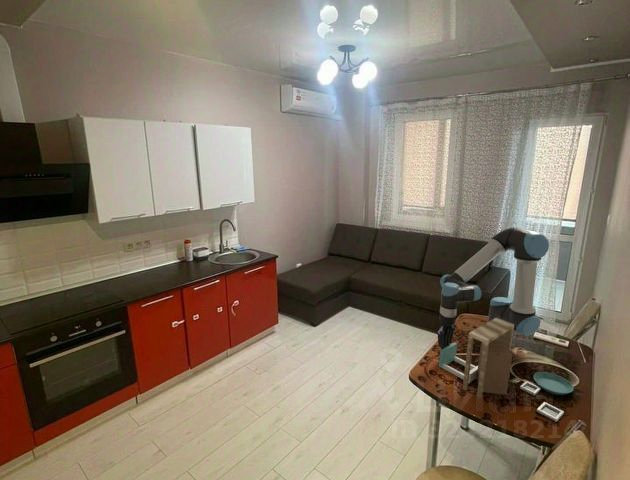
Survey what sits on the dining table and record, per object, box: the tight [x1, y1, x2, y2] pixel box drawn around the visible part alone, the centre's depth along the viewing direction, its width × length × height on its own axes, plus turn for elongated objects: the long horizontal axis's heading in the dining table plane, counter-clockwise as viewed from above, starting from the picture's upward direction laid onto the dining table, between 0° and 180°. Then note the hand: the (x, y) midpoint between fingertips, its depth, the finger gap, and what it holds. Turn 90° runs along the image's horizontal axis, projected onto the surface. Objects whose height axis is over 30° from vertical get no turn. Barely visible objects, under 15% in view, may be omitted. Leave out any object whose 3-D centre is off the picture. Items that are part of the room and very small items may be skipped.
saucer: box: [533, 371, 575, 396], centre depth 152 cm, size 15×15×3 cm
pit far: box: [536, 401, 565, 423], centre depth 137 cm, size 7×7×1 cm
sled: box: [438, 342, 478, 384], centre depth 163 cm, size 12×16×9 cm
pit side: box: [519, 380, 542, 397], centre depth 151 cm, size 6×6×1 cm
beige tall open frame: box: [462, 318, 514, 400], centre depth 152 cm, size 23×8×28 cm, turn 126°
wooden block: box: [476, 341, 513, 396], centre depth 150 cm, size 10×10×20 cm
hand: (443, 357), depth 171 cm, fingers closed
